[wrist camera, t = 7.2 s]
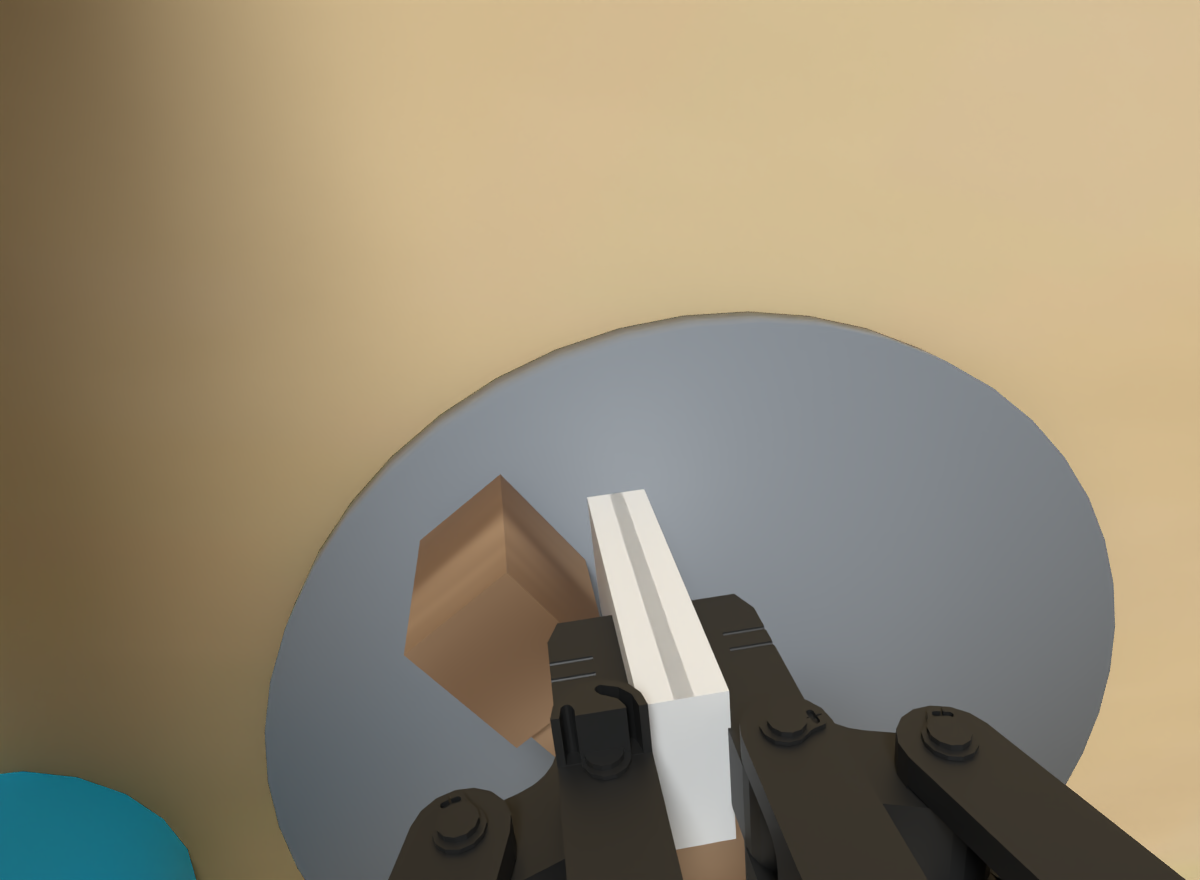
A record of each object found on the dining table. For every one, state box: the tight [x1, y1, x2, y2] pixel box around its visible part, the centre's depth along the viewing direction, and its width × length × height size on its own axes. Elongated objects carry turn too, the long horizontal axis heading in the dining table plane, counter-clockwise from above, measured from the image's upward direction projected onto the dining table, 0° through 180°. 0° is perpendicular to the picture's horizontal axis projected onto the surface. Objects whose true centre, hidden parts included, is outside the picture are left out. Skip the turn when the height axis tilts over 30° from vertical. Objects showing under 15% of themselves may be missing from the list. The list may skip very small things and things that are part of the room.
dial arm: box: [404, 474, 746, 880], centre depth 19 cm, size 22×6×4 cm, turn 39°
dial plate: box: [265, 312, 1115, 880], centre depth 21 cm, size 24×24×4 cm
